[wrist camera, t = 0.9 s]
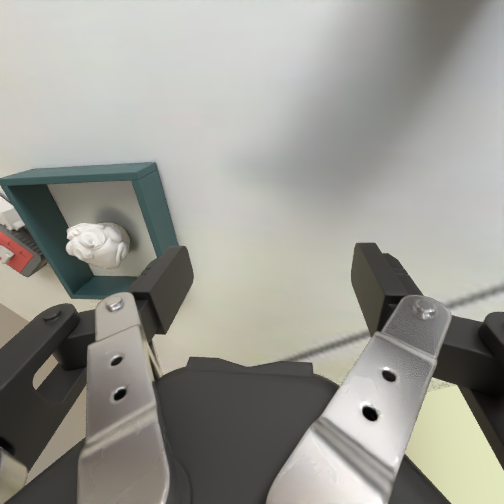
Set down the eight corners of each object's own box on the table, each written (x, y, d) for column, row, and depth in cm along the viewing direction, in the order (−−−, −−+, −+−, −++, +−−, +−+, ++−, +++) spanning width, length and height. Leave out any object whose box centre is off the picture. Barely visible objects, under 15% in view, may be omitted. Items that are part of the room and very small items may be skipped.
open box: (32, 169, 31) (-4, 179, 27) (155, 162, 28) (135, 172, 24) (91, 279, 40) (70, 298, 36) (188, 281, 37) (177, 302, 34)
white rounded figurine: (116, 200, 32) (78, 224, 26) (150, 244, 35) (122, 274, 29) (85, 217, 33) (42, 242, 28) (119, 257, 37) (87, 287, 31)
